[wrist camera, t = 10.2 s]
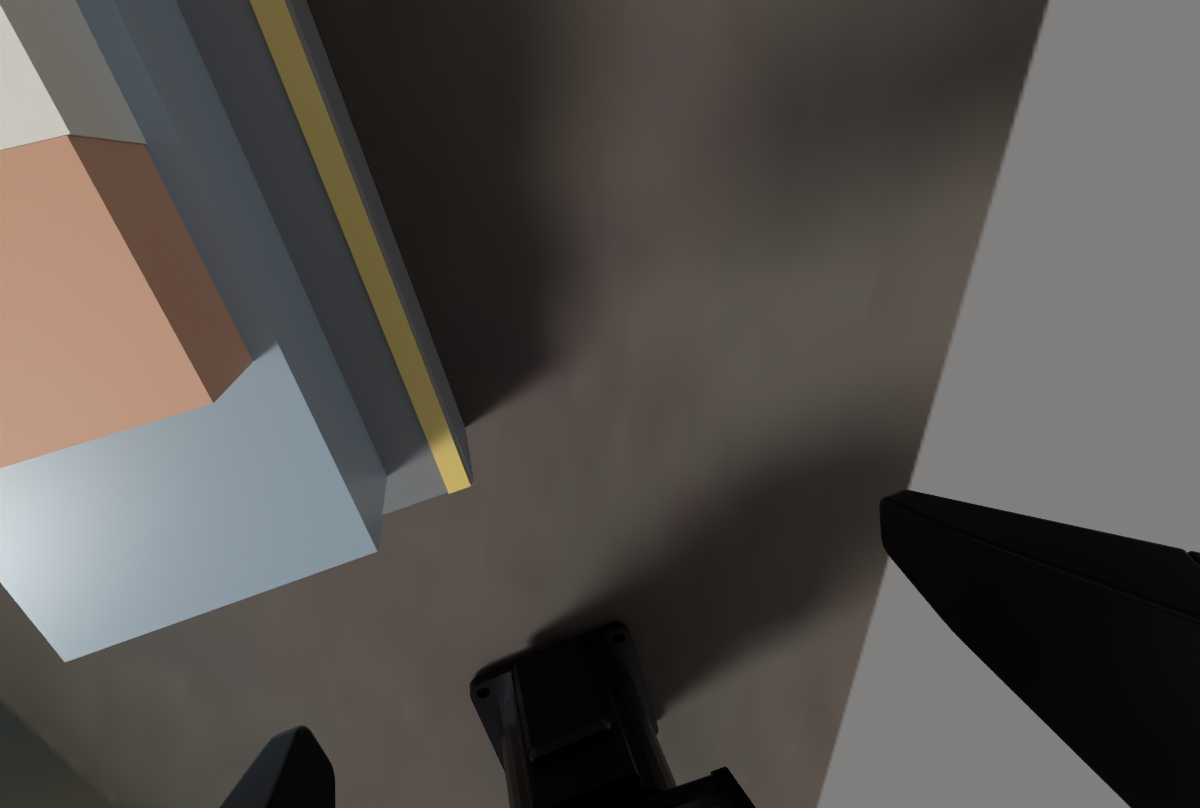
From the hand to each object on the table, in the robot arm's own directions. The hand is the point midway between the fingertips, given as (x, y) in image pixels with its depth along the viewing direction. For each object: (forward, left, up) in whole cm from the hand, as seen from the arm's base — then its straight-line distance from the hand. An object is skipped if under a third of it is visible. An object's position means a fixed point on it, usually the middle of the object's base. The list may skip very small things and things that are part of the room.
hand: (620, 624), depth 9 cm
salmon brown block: (+6, +7, -4) cm, 10 cm away
